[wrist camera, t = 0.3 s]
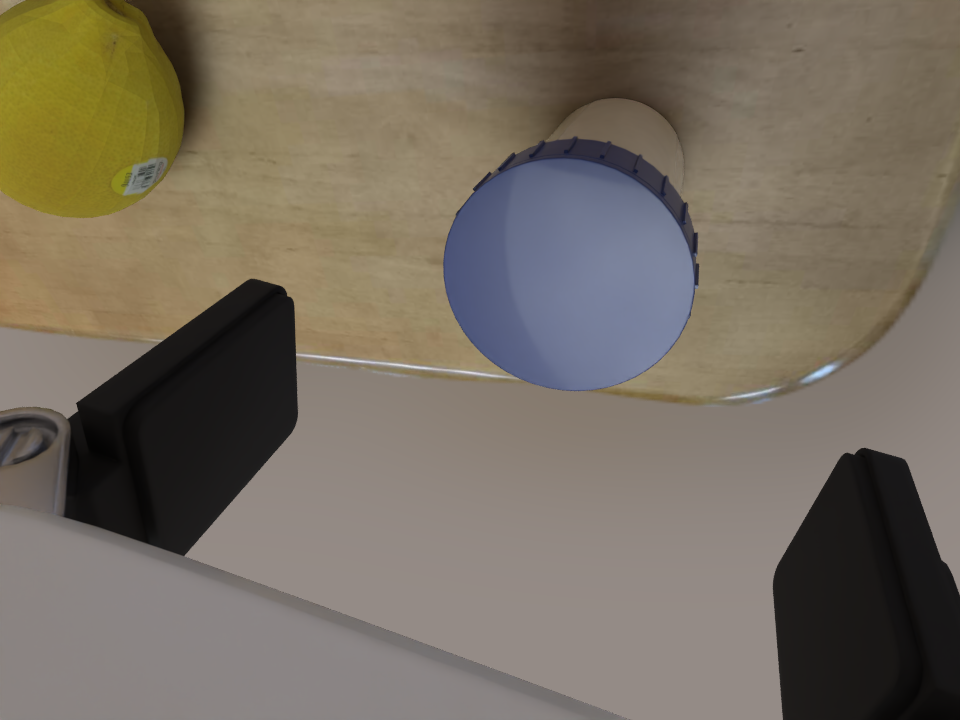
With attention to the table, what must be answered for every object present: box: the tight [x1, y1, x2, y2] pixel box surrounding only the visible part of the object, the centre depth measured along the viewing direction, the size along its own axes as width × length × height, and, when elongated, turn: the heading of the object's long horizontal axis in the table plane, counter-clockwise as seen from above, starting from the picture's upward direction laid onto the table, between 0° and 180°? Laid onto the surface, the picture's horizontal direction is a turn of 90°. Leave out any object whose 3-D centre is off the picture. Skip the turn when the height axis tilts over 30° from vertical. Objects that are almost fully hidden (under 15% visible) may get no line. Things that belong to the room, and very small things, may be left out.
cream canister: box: [546, 98, 684, 197], centre depth 23 cm, size 6×6×11 cm
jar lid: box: [443, 136, 699, 391], centre depth 19 cm, size 7×7×2 cm
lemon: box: [0, 0, 184, 218], centre depth 28 cm, size 11×8×8 cm
